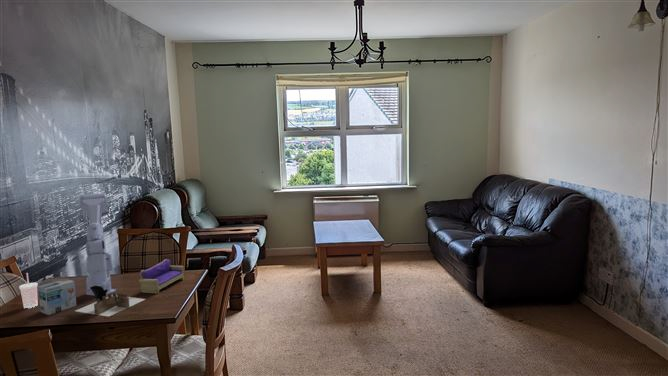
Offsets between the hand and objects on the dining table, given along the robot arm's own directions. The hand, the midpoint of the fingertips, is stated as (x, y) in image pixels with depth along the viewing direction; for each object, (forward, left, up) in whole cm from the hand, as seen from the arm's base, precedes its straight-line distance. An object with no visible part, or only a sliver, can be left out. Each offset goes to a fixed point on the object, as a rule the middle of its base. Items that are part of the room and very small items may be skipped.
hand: (101, 303), depth 165 cm
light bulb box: (-17, -5, -3) cm, 18 cm away
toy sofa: (+5, +29, -3) cm, 29 cm away
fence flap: (+4, -1, -2) cm, 4 cm away
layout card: (+1, +4, -2) cm, 4 cm away
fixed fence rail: (+7, +4, -2) cm, 8 cm away
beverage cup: (-32, -6, -3) cm, 32 cm away
